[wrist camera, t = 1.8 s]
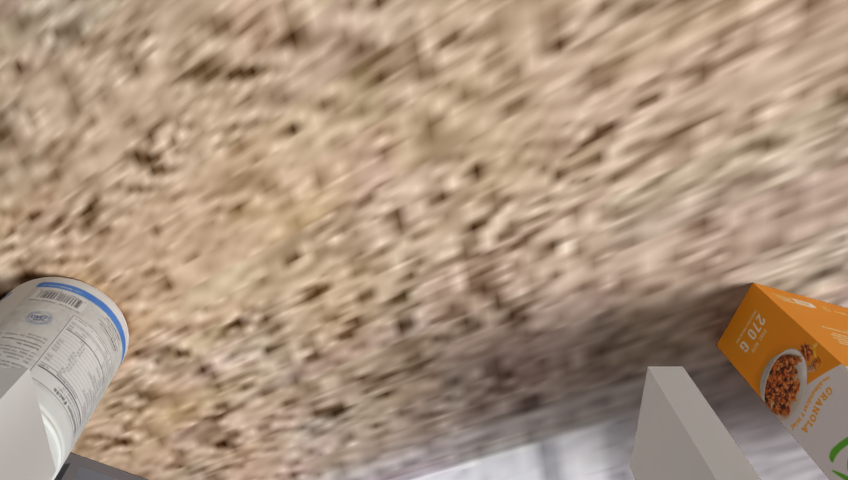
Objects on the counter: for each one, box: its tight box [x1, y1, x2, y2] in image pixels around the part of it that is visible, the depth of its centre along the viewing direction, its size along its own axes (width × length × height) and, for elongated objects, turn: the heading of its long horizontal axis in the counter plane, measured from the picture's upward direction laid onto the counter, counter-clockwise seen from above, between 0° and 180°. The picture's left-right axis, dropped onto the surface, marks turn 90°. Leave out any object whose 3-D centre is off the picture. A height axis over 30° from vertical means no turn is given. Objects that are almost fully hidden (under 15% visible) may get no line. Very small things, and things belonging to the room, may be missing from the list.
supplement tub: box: [0, 277, 129, 480], centre depth 43 cm, size 10×10×15 cm
